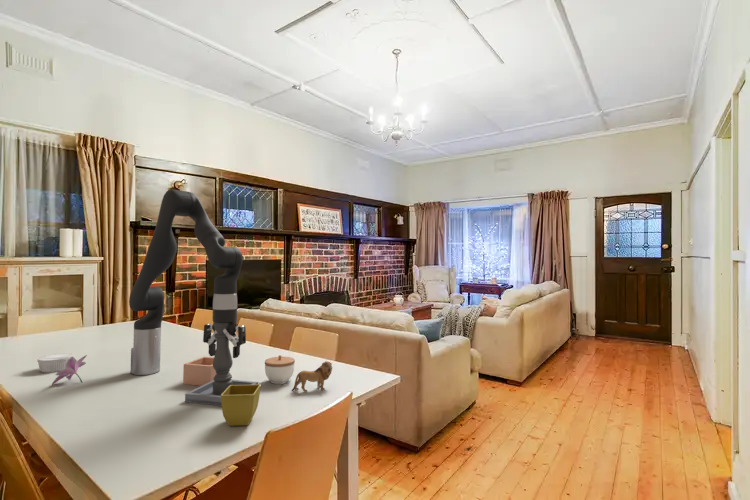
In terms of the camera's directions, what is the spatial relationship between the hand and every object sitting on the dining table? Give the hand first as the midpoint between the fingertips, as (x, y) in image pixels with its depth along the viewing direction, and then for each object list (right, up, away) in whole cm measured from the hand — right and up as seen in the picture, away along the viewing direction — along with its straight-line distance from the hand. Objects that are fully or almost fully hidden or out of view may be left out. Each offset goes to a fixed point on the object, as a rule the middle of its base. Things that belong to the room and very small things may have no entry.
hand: (224, 356), depth 126 cm
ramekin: (-77, -13, +26) cm, 83 cm away
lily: (-59, -13, +11) cm, 61 cm away
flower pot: (+13, -13, -21) cm, 27 cm away
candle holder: (0, -12, 0) cm, 12 cm away
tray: (0, -13, 0) cm, 13 cm away
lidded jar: (+15, -13, +15) cm, 25 cm away
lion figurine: (+28, -13, +7) cm, 32 cm away
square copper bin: (-12, -13, +15) cm, 23 cm away
